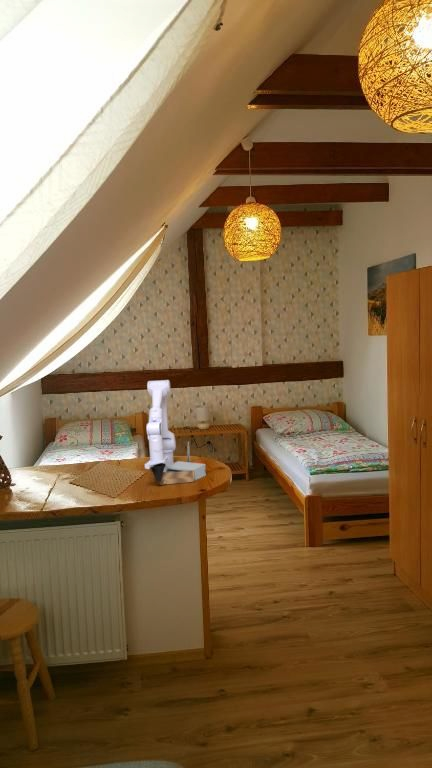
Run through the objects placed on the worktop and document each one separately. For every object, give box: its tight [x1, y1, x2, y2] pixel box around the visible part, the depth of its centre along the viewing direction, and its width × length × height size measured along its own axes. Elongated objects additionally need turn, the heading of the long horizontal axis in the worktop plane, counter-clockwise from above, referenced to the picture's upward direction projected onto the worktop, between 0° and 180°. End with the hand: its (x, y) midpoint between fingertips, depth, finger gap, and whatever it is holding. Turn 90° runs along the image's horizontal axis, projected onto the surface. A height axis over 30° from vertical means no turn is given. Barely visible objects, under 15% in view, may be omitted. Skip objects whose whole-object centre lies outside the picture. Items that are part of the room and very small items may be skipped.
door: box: [159, 470, 196, 486], centre depth 245 cm, size 15×2×5 cm, turn 99°
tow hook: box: [186, 441, 205, 464], centre depth 270 cm, size 8×13×9 cm
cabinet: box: [165, 460, 207, 481], centre depth 255 cm, size 15×10×5 cm, turn 59°
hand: (158, 481), depth 240 cm, fingers closed
